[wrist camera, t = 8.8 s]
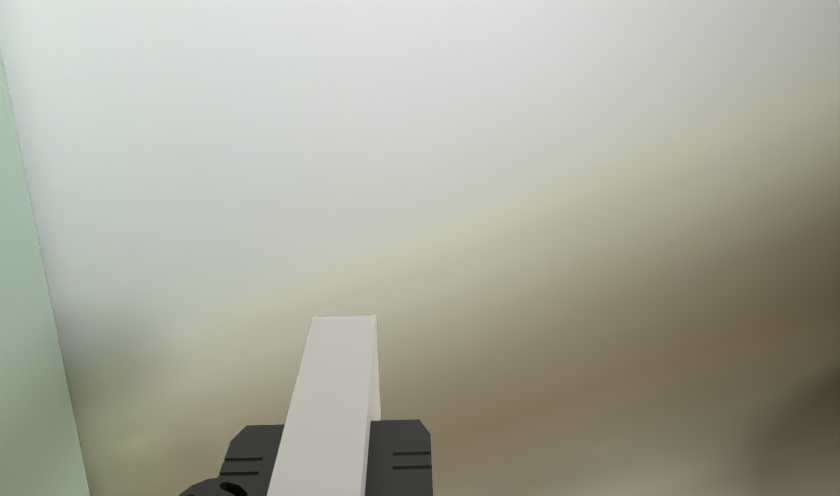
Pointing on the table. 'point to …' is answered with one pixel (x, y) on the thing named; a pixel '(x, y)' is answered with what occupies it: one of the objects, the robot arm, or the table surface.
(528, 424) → the table surface
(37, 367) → the pale green flat panel
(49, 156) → the table surface
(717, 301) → the table surface
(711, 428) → the table surface
